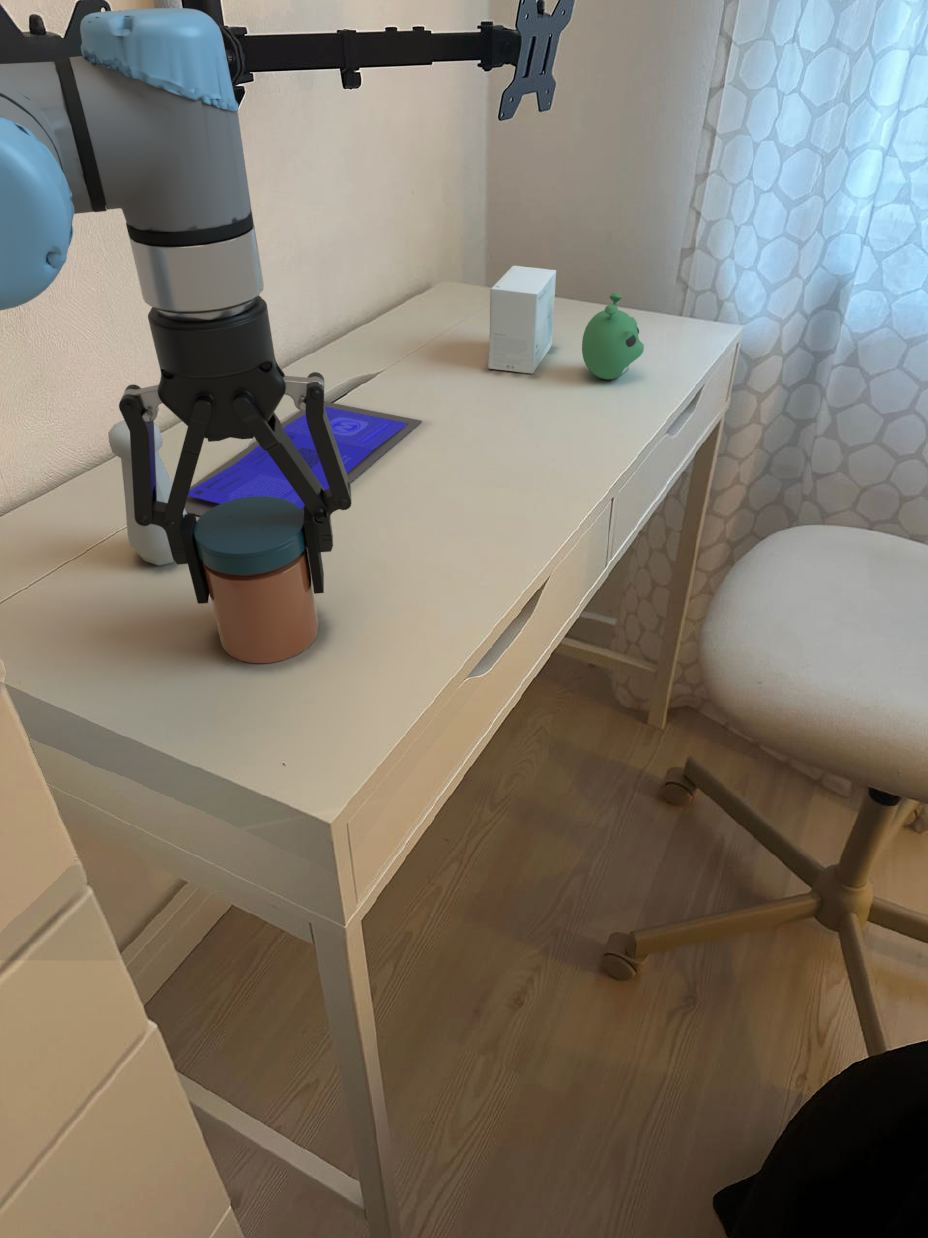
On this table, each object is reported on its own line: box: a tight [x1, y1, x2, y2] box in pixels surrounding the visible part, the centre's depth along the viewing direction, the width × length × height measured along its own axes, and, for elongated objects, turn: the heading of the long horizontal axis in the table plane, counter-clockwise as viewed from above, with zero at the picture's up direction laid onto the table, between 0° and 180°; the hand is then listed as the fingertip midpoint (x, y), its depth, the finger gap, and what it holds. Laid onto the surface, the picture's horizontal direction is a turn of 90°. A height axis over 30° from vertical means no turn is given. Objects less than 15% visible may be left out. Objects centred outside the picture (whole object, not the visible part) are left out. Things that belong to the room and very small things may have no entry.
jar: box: [202, 545, 320, 664], centre depth 71 cm, size 8×8×10 cm
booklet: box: [188, 411, 404, 513], centre depth 97 cm, size 12×25×1 cm, turn 154°
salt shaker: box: [107, 419, 188, 567], centre depth 80 cm, size 6×6×13 cm
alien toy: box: [581, 292, 645, 380], centre depth 111 cm, size 7×8×10 cm
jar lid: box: [193, 496, 307, 575], centre depth 68 cm, size 8×8×2 cm
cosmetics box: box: [487, 265, 557, 375], centre depth 117 cm, size 10×6×10 cm, turn 162°
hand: (262, 588), depth 71 cm, fingers closed on jar lid, 8 cm apart
